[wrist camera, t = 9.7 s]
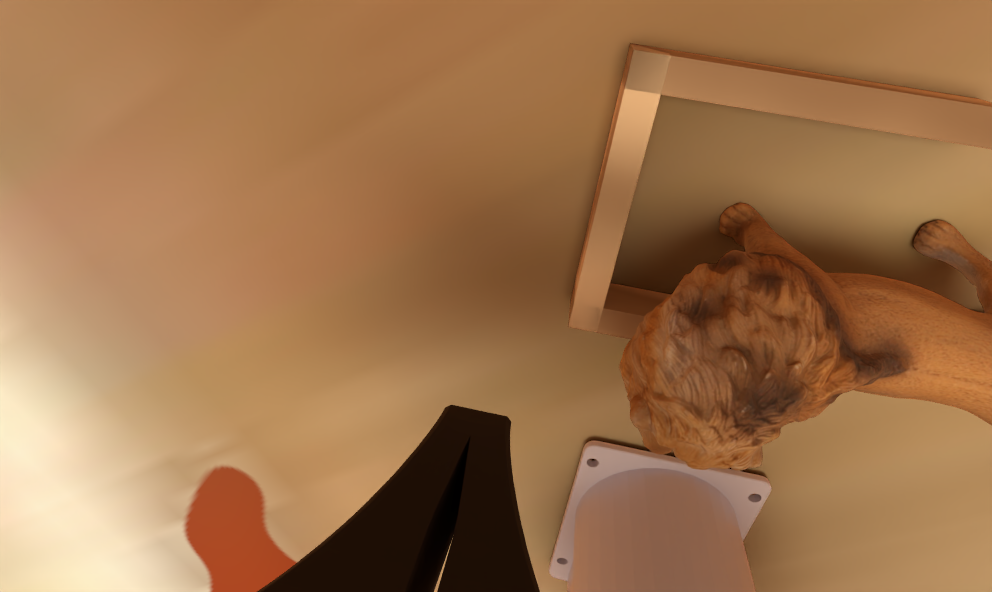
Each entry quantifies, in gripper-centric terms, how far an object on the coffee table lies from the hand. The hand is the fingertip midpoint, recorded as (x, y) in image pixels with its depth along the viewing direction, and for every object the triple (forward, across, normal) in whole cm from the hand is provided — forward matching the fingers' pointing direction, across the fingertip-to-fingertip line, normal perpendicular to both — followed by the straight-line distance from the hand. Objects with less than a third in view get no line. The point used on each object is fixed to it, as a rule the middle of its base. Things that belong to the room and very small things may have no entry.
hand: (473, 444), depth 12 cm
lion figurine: (+10, -10, -1) cm, 14 cm away
